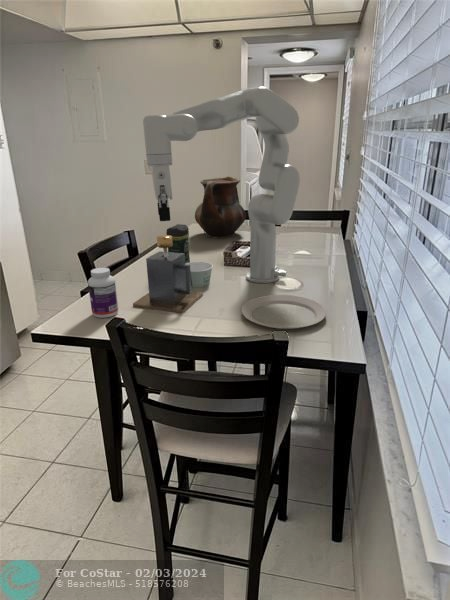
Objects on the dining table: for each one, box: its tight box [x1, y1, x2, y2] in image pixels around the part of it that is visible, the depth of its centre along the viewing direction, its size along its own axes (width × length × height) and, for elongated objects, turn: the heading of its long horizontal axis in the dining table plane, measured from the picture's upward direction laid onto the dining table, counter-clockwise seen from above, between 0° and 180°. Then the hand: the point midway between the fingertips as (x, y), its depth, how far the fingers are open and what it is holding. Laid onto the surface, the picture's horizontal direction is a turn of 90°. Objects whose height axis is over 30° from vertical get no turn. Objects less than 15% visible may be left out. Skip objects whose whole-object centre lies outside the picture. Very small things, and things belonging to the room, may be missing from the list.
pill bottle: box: [87, 267, 119, 319], centre depth 130 cm, size 8×8×14 cm
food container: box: [185, 261, 214, 288], centre depth 158 cm, size 12×12×6 cm
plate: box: [240, 294, 327, 330], centre depth 130 cm, size 26×26×2 cm
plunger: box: [156, 234, 173, 257], centre depth 138 cm, size 6×6×20 cm
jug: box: [194, 175, 247, 239], centre depth 227 cm, size 32×28×30 cm
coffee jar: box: [165, 223, 191, 264], centre depth 171 cm, size 10×8×19 cm
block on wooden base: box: [132, 250, 204, 314], centre depth 140 cm, size 18×16×16 cm
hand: (164, 217), depth 132 cm, fingers open, 9 cm apart
